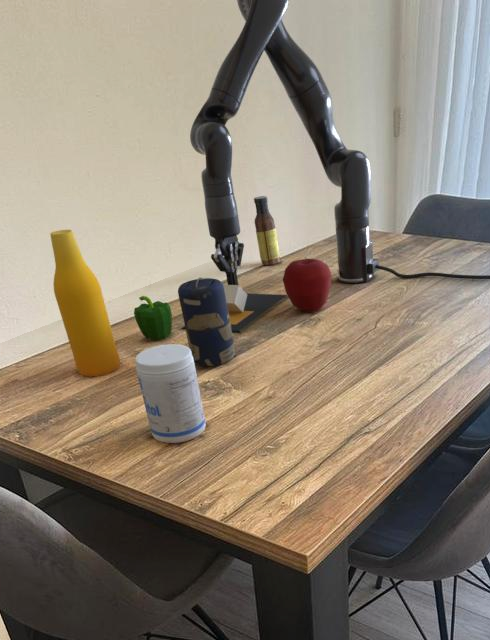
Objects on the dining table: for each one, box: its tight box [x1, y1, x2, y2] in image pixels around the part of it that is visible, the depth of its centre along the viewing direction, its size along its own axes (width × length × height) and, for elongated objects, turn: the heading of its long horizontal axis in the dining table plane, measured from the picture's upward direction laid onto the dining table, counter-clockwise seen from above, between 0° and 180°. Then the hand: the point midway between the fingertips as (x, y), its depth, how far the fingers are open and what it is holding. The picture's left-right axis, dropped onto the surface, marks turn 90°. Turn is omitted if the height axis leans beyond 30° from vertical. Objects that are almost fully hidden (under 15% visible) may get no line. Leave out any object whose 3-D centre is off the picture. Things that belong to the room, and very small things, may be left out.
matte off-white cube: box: [223, 284, 247, 313], centre depth 170 cm, size 5×5×5 cm
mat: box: [182, 292, 288, 334], centre depth 174 cm, size 16×28×1 cm, turn 158°
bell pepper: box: [133, 295, 173, 341], centre depth 160 cm, size 8×8×10 cm
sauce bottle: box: [253, 195, 281, 266], centre depth 208 cm, size 7×6×20 cm
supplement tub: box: [134, 343, 207, 444], centre depth 115 cm, size 10×10×15 cm
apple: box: [282, 256, 332, 313], centre depth 167 cm, size 12×12×13 cm
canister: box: [177, 277, 236, 367], centre depth 141 cm, size 10×10×18 cm
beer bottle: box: [49, 229, 121, 377], centre depth 140 cm, size 9×9×29 cm
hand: (233, 286), depth 170 cm, fingers closed
